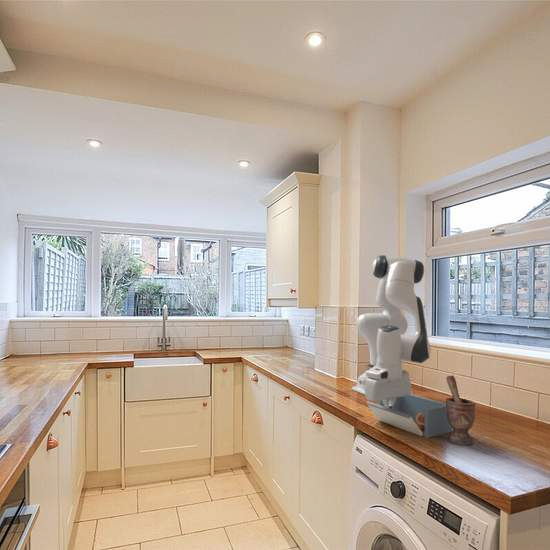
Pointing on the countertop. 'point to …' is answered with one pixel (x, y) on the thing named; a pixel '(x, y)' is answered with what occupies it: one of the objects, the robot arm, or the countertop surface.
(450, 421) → the mortar and pestle
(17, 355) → the countertop surface
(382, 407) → the white rectangular panel
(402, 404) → the crate
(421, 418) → the fruit slice
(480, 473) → the countertop surface
